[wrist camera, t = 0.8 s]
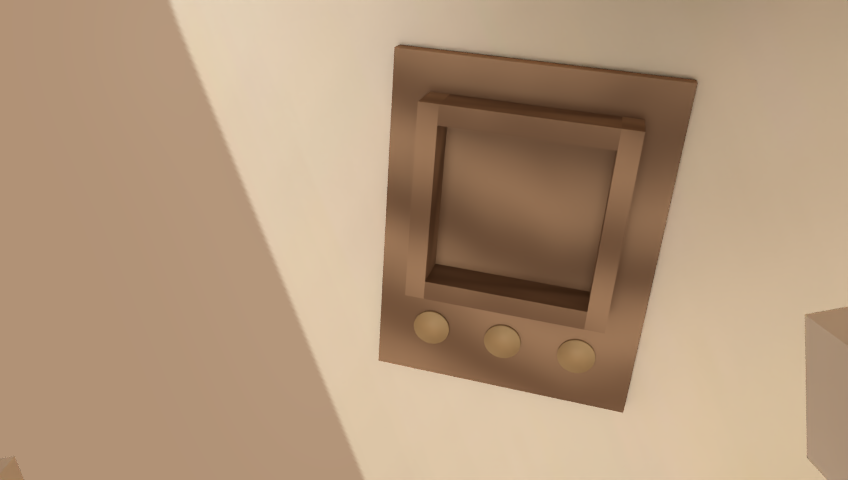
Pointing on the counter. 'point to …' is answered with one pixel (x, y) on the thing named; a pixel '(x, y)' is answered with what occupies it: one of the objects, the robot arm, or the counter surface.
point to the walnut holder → (526, 219)
